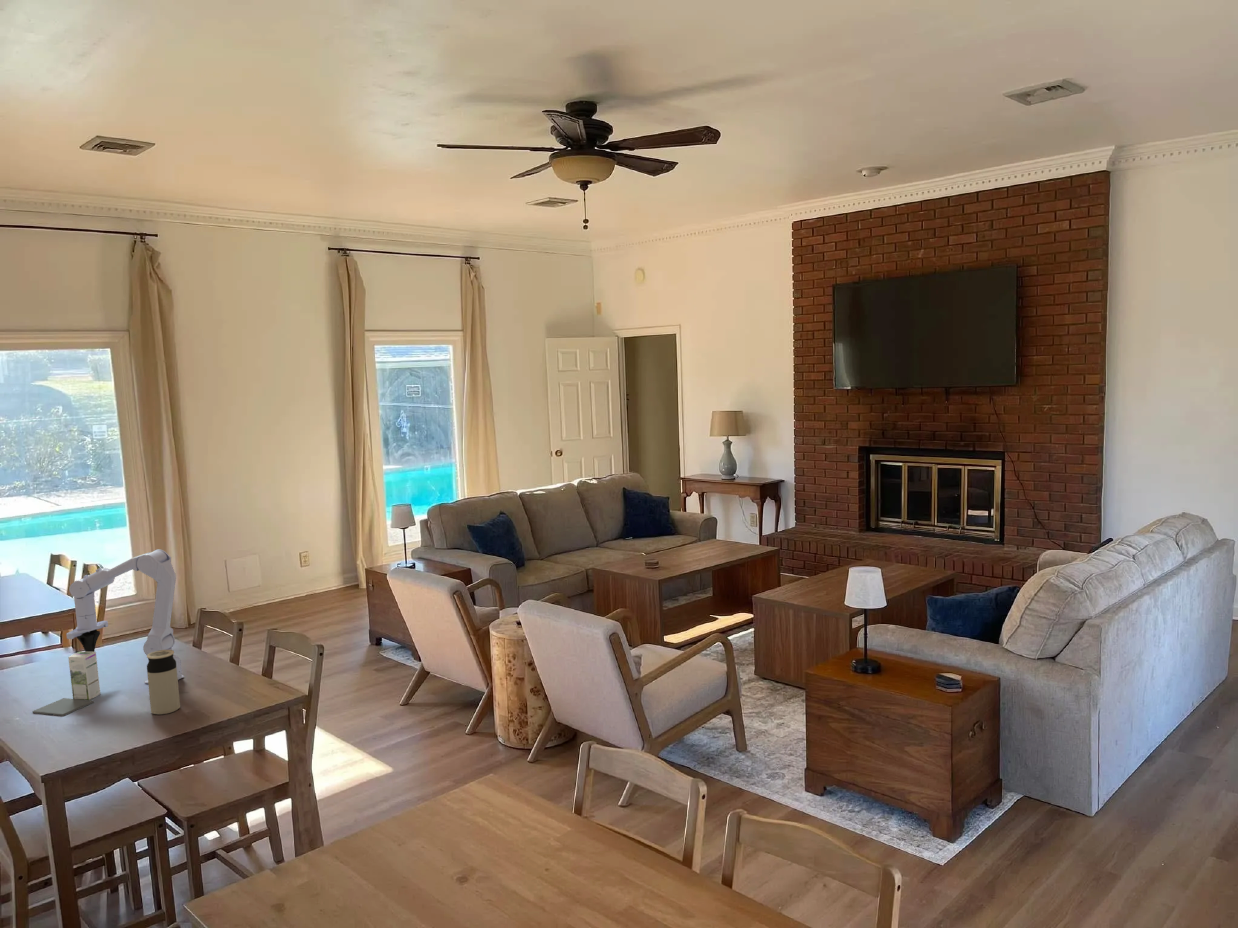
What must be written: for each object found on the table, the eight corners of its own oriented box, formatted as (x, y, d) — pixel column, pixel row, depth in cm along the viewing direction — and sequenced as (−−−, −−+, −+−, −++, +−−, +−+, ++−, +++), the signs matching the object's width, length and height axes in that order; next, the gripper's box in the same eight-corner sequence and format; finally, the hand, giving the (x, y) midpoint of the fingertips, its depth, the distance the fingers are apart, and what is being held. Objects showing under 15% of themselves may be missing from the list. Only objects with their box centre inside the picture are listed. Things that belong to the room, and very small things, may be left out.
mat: (93, 702, 280) (93, 700, 280) (63, 715, 269) (62, 714, 269) (64, 699, 283) (63, 697, 283) (32, 712, 273) (32, 710, 273)
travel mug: (168, 715, 267) (162, 658, 265) (145, 714, 268) (139, 657, 266) (185, 705, 275) (180, 649, 273) (163, 704, 276) (158, 648, 274)
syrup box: (101, 693, 288) (96, 650, 286) (88, 700, 282) (84, 656, 280) (85, 693, 288) (80, 650, 287) (72, 700, 282) (67, 656, 281)
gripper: (94, 607, 304) (99, 646, 305) (57, 619, 290) (62, 659, 291) (111, 608, 302) (115, 647, 303) (74, 620, 288) (78, 661, 289)
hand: (90, 653), depth 297 cm, fingers closed
